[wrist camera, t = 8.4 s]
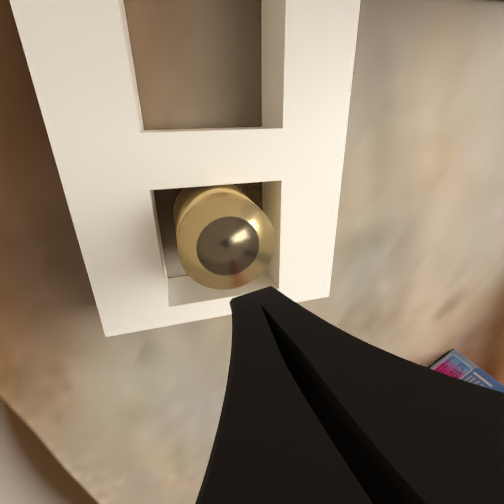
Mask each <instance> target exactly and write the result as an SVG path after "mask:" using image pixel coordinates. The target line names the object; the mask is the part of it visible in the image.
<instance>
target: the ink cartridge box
mask: <svg viewBox="0 0 504 504" xmlns="http://www.w3.org/2000/svg"><path fill="white" fill-rule="evenodd" d="M430 369H432V370H435V371H438V372H441V373H443V374H446V375H449V376H452V377H455V378H458V379H461V380H464V381H467V382H470V383H473V384H476V385H480V386H483V387H486V388H489V389H493V390H496V391H500V392H503V393H504V386H503V385H502V384H501V383H499V382H498V381H497V380H495V379H494V378H493V377H491V376H490V375H488V374H487V373H486V372H484V371H483V370H482V369H480V368H479V367H478V366H476V365H475V364H474V363H472V362H471V361H469V360H468V359H467V358H465V357H464V356H463V355H461V354H460V353H459V352H457V351H456V350H452V351H451V352H449V353H448V354H447V355H446V356H444V357H443V358H442V359H440V360H439V361H438V362H436V363H435V364H434V365H433V366H431V367H430Z"/></svg>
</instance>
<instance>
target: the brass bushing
mask: <svg viewBox="0 0 504 504" xmlns="http://www.w3.org/2000/svg"><path fill="white" fill-rule="evenodd" d="M174 222H175V230H176V238H177V246H178V254H179V259H180V262H181V264H182V266H183V268H184V270H185V271H186V273H187V274H188V275H189V276H190V277H191V278H192V279H193V280H194V281H195V282H197V283H199V284H200V285H203V286H205V287H208V288H211V289H217V290H228V289H234V288H238V287H241V286H243V285H246V284H248V283H249V282H251V281H253V280H254V279H256V278H257V277H258V276H259V275H260V274H261V273H262V272H263V271H264V270H265V268H266V267H267V266H268V264H269V262H270V260H271V258H272V255H273V252H274V248H275V234H274V229H273V226H272V224H271V222H270V220H269V218H268V217H267V215H266V214H265V213H264V212H263V211H262V210H261V209H260V208H259V207H258V206H257V205H256V204H255V203H253V202H252V201H251V200H250V199H249V198H248V197H247V196H246V195H245V194H244V193H243V192H242V191H241V190H239V189H238V188H237V187H236V186H235V185H234V184H226V185H213V186H200V187H186V188H182V189H181V191H180V192H179V194H178V195H177V198H176V200H175V204H174Z"/></svg>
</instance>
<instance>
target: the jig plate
mask: <svg viewBox="0 0 504 504" xmlns="http://www.w3.org/2000/svg"><path fill="white" fill-rule="evenodd" d="M9 1H10V4H11V8H12V11H13V15H14V18H15V22H16V25H17V29H18V32H19V35H20V39H21V42H22V46H23V49H24V53H25V56H26V60H27V63H28V67H29V70H30V74H31V77H32V81H33V84H34V88H35V91H36V95H37V98H38V102H39V105H40V109H41V112H42V116H43V119H44V123H45V126H46V130H47V133H48V137H49V140H50V144H51V147H52V151H53V154H54V158H55V161H56V165H57V168H58V172H59V175H60V179H61V182H62V186H63V189H64V193H65V196H66V200H67V203H68V207H69V210H70V214H71V217H72V221H73V224H74V228H75V231H76V235H77V238H78V242H79V245H80V249H81V252H82V256H83V259H84V263H85V266H86V270H87V273H88V277H89V280H90V284H91V287H92V291H93V294H94V298H95V301H96V305H97V308H98V312H99V315H100V318H101V322H102V325H103V329H104V332H105V336H106V337H109V336H115V335H120V334H126V333H131V332H137V331H142V330H148V329H153V328H159V327H164V326H169V325H175V324H180V323H186V322H191V321H197V320H202V319H208V318H213V317H219V316H224V315H230V314H232V312H231V307H230V304H229V302H230V301H231V299H232V298H235V297H238V296H241V295H244V294H247V293H250V292H253V291H257V290H260V289H263V288H266V287H269V286H272V287H274V288H275V289H277V290H278V291H280V292H281V293H283V294H284V295H286V296H287V297H288V298H290V299H291V300H293V301H294V302H301V301H307V300H312V299H318V298H323V297H329V290H330V281H331V272H332V262H333V253H334V244H335V234H336V225H337V216H338V207H339V197H340V188H341V179H342V169H343V160H344V151H345V141H346V132H347V123H348V113H349V104H350V95H351V85H352V76H353V67H354V57H355V48H356V39H357V29H358V20H359V11H360V1H361V0H261V31H262V127H234V128H199V129H164V130H144V126H143V120H142V114H141V107H140V101H139V95H138V88H137V82H136V76H135V70H134V63H133V57H132V51H131V44H130V38H129V32H128V25H127V19H126V13H125V6H124V0H9ZM253 182H262V211H263V212H264V213H265V214H266V215H267V217H268V218H269V220H270V222H271V224H272V226H273V229H274V234H275V248H274V252H273V255H272V258H271V260H270V262H269V264H268V266H267V267H266V268H265V270H264V271H263V272H262V273H261V274H260V275H259V276H258V277H257V278H256V279H254V280H253V281H251V282H249V283H248V284H246V285H243V286H241V287H238V288H234V289H228V290H217V289H211V288H208V287H205V286H203V285H200V284H199V283H197V282H195V281H194V280H193V279H192V278H191V277H190V276H189V275H187V276H180V277H173V278H167V272H166V265H165V259H164V253H163V246H162V240H161V234H160V227H159V221H158V215H157V208H156V202H155V196H154V190H160V189H173V188H186V187H200V186H213V185H226V184H240V183H253Z"/></svg>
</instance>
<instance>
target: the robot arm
mask: <svg viewBox="0 0 504 504" xmlns="http://www.w3.org/2000/svg"><path fill="white" fill-rule="evenodd" d="M229 304H230V307H231V312H232V348H231V358H230V366H229V373H228V381H227V386H226V392H225V397H224V402H223V407H222V412H221V416H220V421H219V425H218V429H217V432H216V436H215V440H214V444H213V448H212V452H211V455H210V459H209V462H208V466H207V469H206V473H205V476H204V479H203V483H202V486H201V489H200V492H199V495H198V498H197V501H196V504H504V393H503V392H500V391H496V390H493V389H489V388H486V387H483V386H480V385H476V384H473V383H470V382H467V381H464V380H461V379H458V378H455V377H452V376H449V375H446V374H443V373H441V372H438V371H435V370H432V369H430V368H427V367H424V366H421V365H418V364H416V363H413V362H411V361H408V360H405V359H403V358H400V357H398V356H396V355H393V354H391V353H389V352H386V351H384V350H382V349H380V348H377V347H375V346H373V345H370V344H368V343H366V342H364V341H362V340H360V339H358V338H356V337H354V336H352V335H350V334H348V333H346V332H345V331H343V330H341V329H339V328H337V327H335V326H333V325H332V324H330V323H328V322H326V321H325V320H323V319H321V318H320V317H318V316H316V315H315V314H313V313H311V312H310V311H308V310H307V309H305V308H303V307H302V306H300V305H299V304H297V303H296V302H294V301H293V300H291V299H290V298H288V297H287V296H286V295H284V294H283V293H281V292H280V291H278V290H277V289H275V288H274V287H272V286H269V287H266V288H263V289H260V290H257V291H253V292H250V293H247V294H244V295H241V296H238V297H235V298H232V299H231V301H230V302H229Z"/></svg>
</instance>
